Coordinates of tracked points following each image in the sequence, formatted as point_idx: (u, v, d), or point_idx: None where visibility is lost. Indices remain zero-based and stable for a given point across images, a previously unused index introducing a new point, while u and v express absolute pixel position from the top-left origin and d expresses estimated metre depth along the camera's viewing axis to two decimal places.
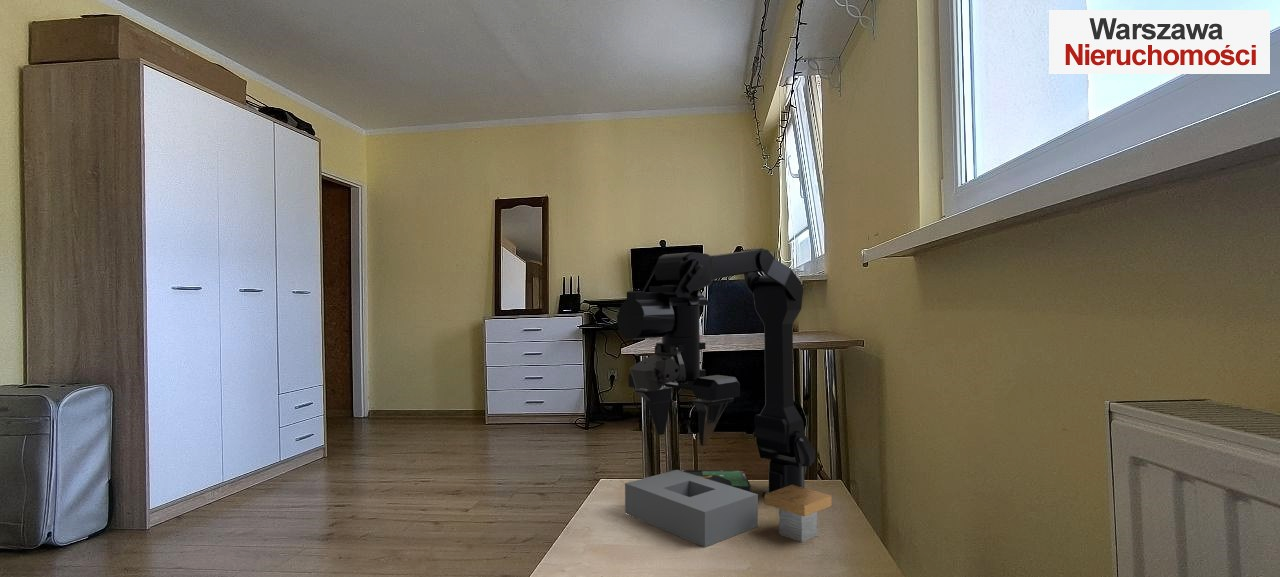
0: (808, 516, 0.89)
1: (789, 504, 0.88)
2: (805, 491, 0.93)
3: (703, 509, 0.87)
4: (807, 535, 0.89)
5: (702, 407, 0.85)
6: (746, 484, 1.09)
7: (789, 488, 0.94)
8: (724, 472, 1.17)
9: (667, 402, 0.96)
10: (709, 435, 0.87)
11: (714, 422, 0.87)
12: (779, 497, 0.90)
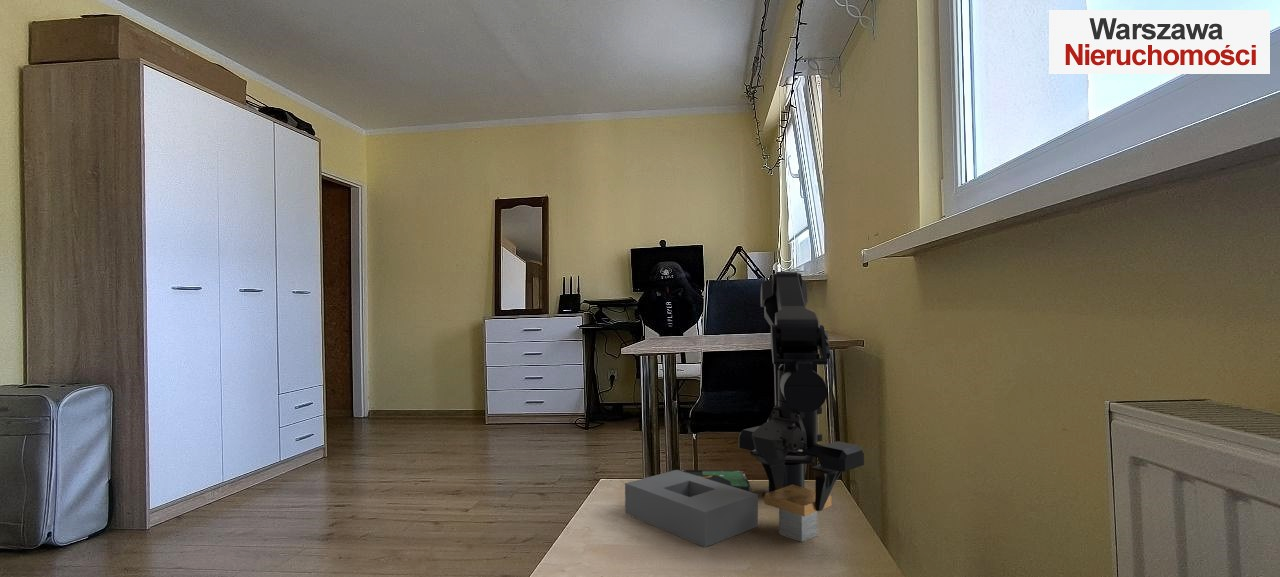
0: (808, 516, 0.89)
1: (789, 504, 0.88)
2: (805, 491, 0.93)
3: (703, 509, 0.87)
4: (807, 535, 0.89)
5: (821, 474, 0.85)
6: (745, 484, 1.09)
7: (789, 488, 0.94)
8: (724, 472, 1.16)
9: (782, 464, 0.95)
10: (825, 500, 0.88)
11: (830, 487, 0.88)
12: (778, 496, 0.90)
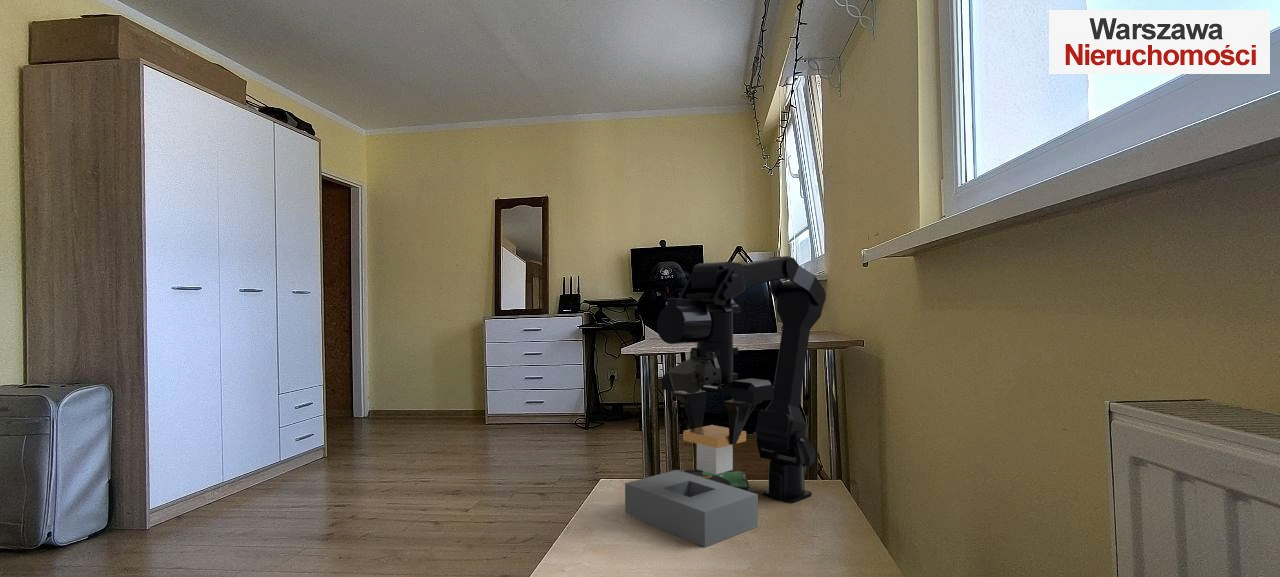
0: (723, 450, 0.94)
1: (704, 438, 0.92)
2: (723, 428, 0.97)
3: (703, 509, 0.87)
4: (722, 468, 0.93)
5: (733, 407, 0.90)
6: (745, 485, 1.09)
7: (708, 427, 0.98)
8: (724, 472, 1.16)
9: (703, 405, 1.00)
10: (738, 434, 0.93)
11: (743, 422, 0.93)
12: (695, 432, 0.94)
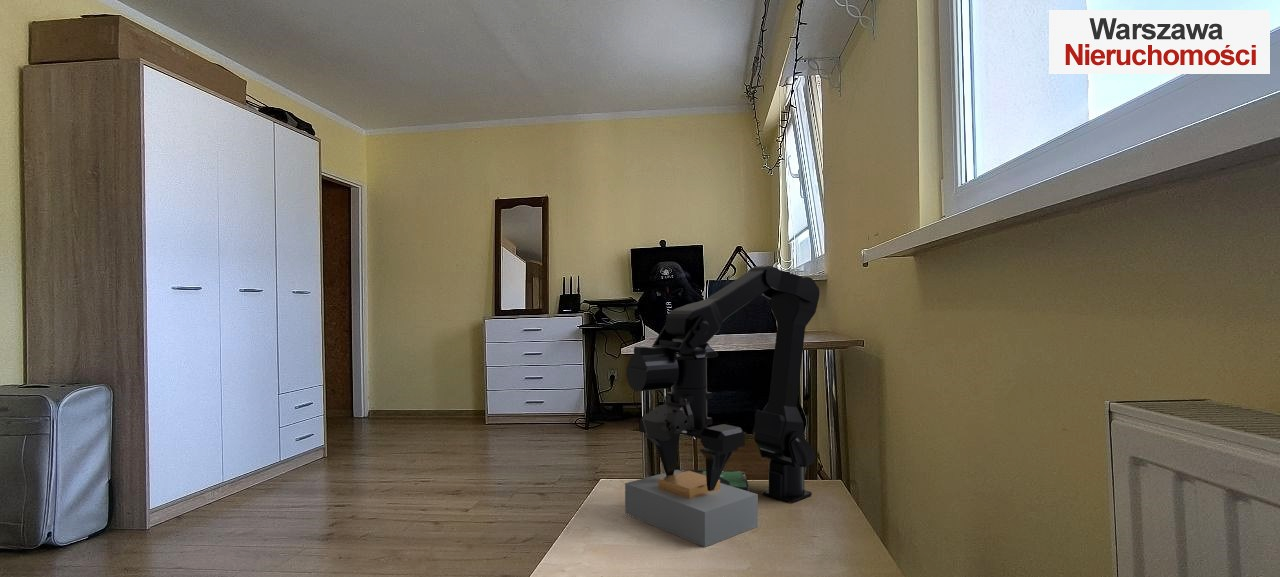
0: None
1: (677, 487, 0.94)
2: (698, 476, 0.99)
3: (703, 509, 0.87)
4: None
5: (709, 456, 0.91)
6: (744, 485, 1.08)
7: (684, 474, 1.00)
8: (724, 472, 1.16)
9: (675, 446, 1.02)
10: (716, 481, 0.94)
11: (720, 469, 0.93)
12: (670, 481, 0.96)
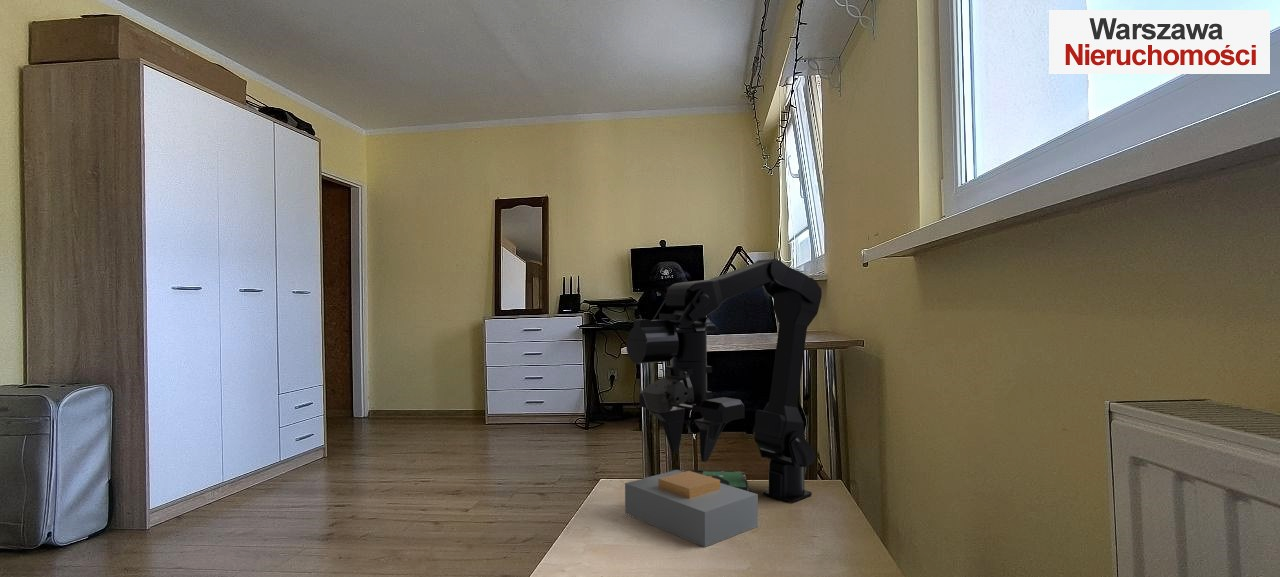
0: None
1: (677, 487, 0.94)
2: (698, 476, 0.99)
3: (703, 509, 0.87)
4: None
5: (703, 426, 0.92)
6: (744, 485, 1.08)
7: (684, 474, 1.00)
8: (725, 473, 1.16)
9: (681, 422, 1.01)
10: (709, 452, 0.95)
11: (714, 440, 0.94)
12: (670, 481, 0.96)
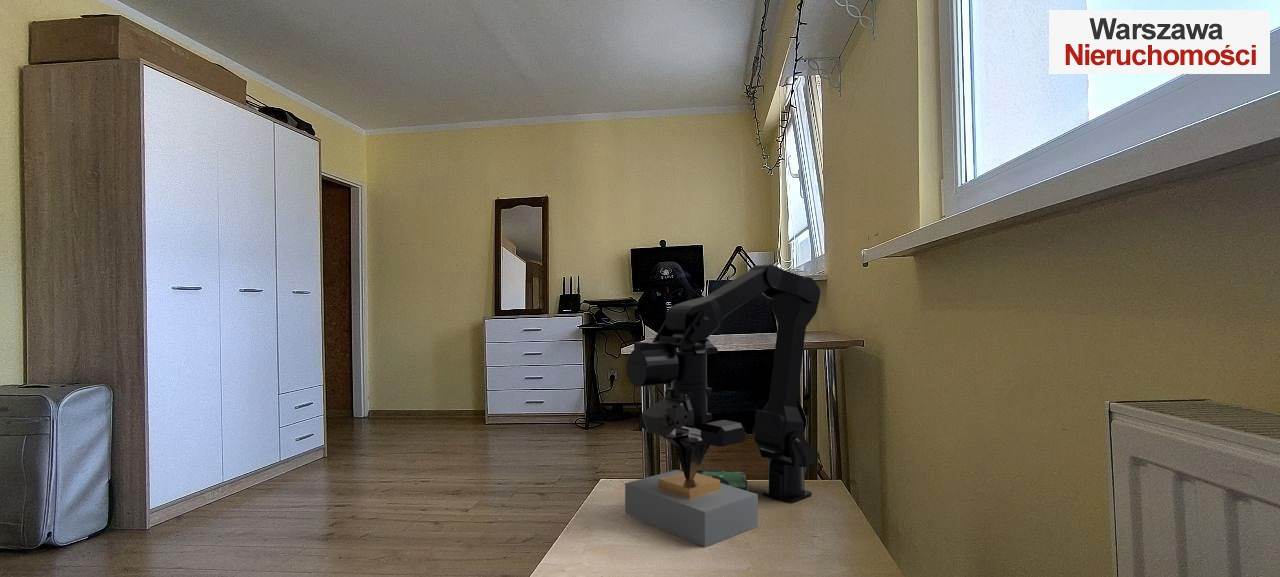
0: None
1: (677, 487, 0.94)
2: (698, 476, 0.99)
3: (703, 509, 0.87)
4: None
5: (688, 446, 0.94)
6: (743, 485, 1.08)
7: None
8: (725, 473, 1.16)
9: None
10: (695, 470, 0.97)
11: (699, 458, 0.97)
12: (670, 481, 0.96)
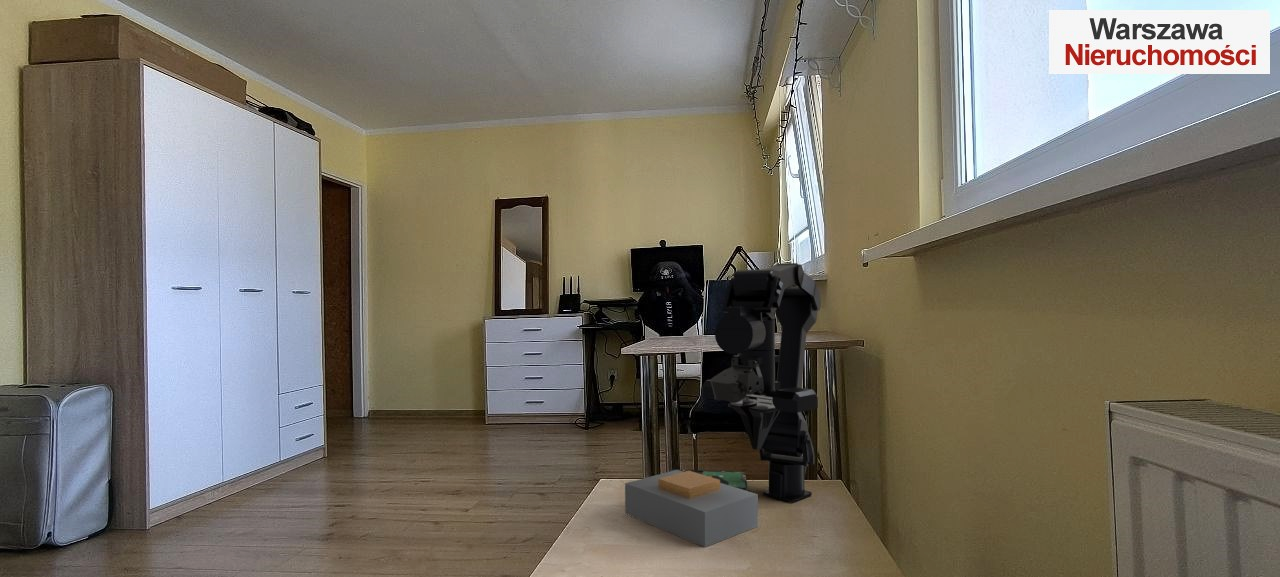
0: None
1: (677, 487, 0.94)
2: (698, 476, 0.99)
3: (703, 509, 0.87)
4: None
5: (758, 414, 0.91)
6: (743, 486, 1.08)
7: (684, 474, 1.00)
8: (725, 473, 1.16)
9: None
10: (763, 440, 0.94)
11: (767, 428, 0.94)
12: (670, 481, 0.96)
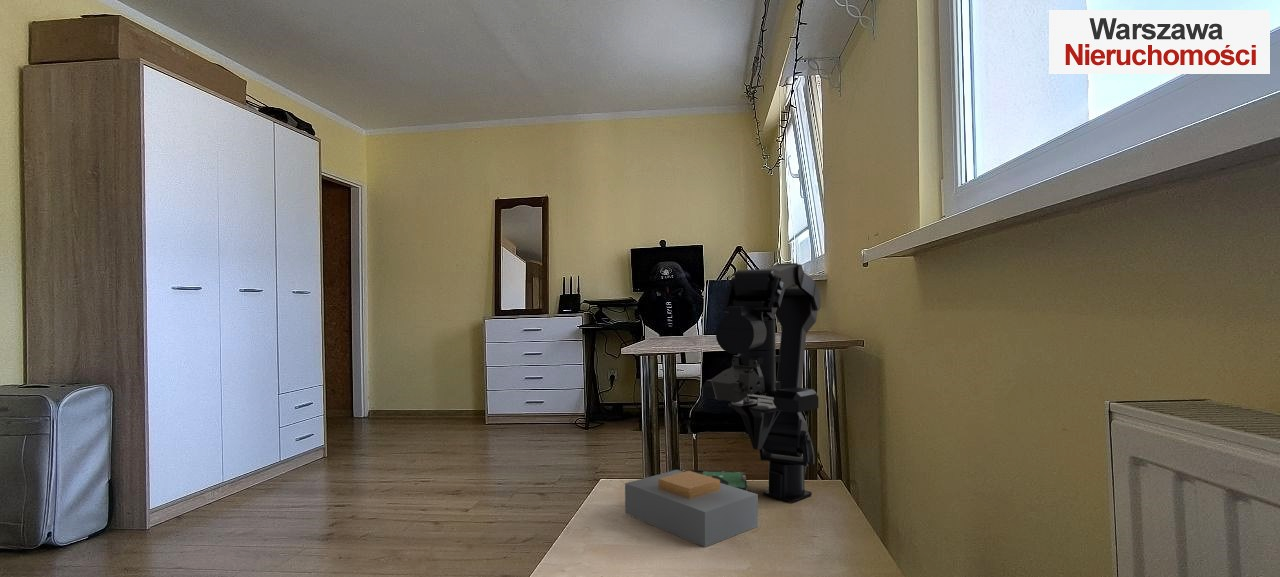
0: None
1: (677, 487, 0.94)
2: (698, 476, 0.99)
3: (703, 509, 0.87)
4: None
5: (758, 413, 0.91)
6: (743, 486, 1.08)
7: (684, 474, 1.00)
8: (725, 473, 1.16)
9: None
10: (763, 440, 0.94)
11: (768, 428, 0.94)
12: (670, 481, 0.96)
